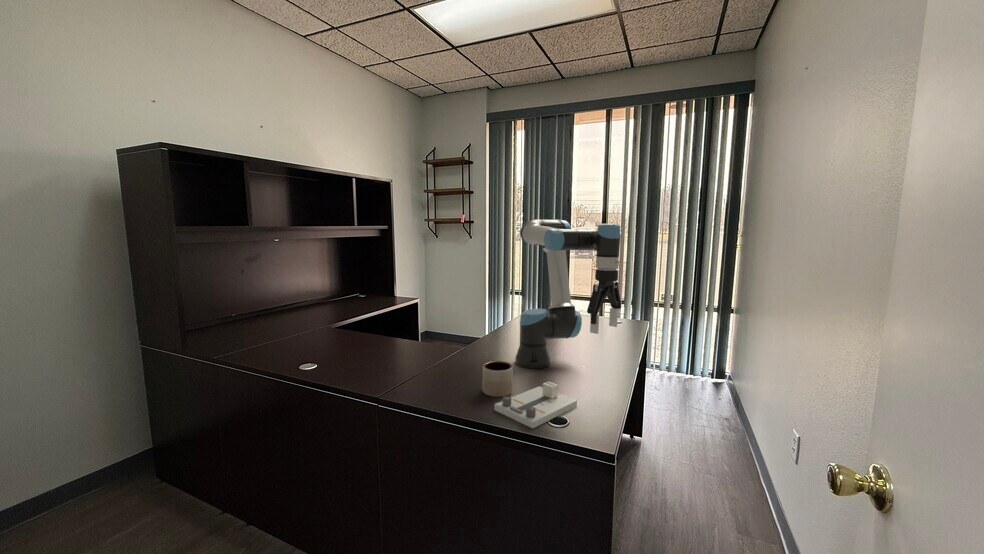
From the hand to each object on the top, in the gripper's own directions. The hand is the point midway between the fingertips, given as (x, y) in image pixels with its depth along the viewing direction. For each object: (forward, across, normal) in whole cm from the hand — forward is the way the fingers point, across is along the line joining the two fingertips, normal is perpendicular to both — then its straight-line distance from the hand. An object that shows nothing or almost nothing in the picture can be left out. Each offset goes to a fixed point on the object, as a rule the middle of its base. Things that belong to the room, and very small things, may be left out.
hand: (603, 329), depth 137 cm
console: (+23, -27, +9) cm, 36 cm away
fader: (+21, -20, +8) cm, 30 cm away
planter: (+23, -26, +27) cm, 44 cm away
